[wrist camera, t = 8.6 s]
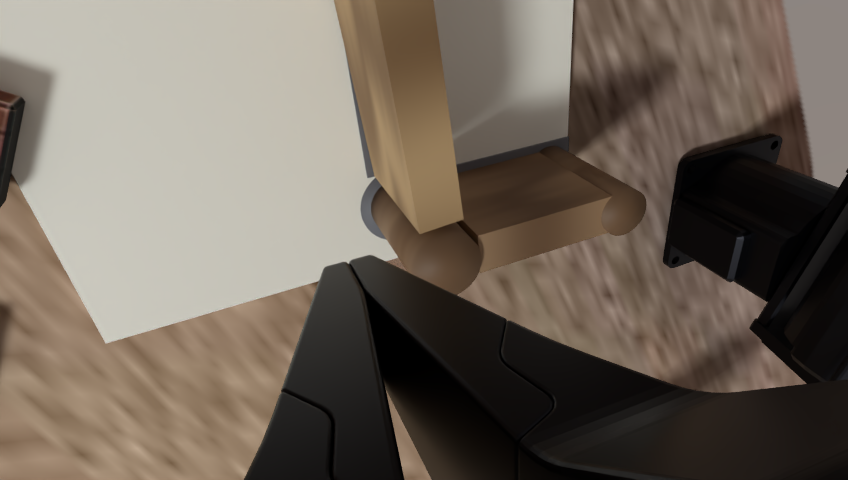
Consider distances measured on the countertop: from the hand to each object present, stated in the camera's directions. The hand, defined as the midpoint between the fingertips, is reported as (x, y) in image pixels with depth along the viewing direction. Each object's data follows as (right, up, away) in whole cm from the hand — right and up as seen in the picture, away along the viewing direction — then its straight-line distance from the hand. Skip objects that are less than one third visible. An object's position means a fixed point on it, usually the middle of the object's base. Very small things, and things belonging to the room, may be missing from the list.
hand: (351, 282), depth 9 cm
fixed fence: (+3, +3, +13) cm, 14 cm away
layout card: (-2, +7, +9) cm, 12 cm away
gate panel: (-1, +8, +9) cm, 12 cm away
